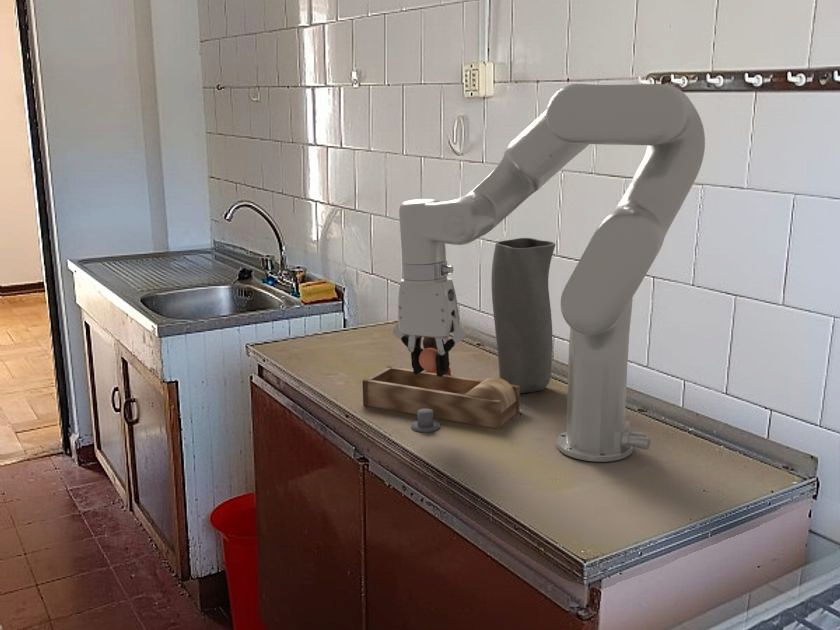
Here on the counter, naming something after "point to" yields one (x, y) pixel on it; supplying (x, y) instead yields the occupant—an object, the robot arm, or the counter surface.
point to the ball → (428, 359)
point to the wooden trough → (443, 396)
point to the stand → (425, 421)
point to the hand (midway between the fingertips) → (430, 372)
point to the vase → (523, 311)
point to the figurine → (431, 343)
